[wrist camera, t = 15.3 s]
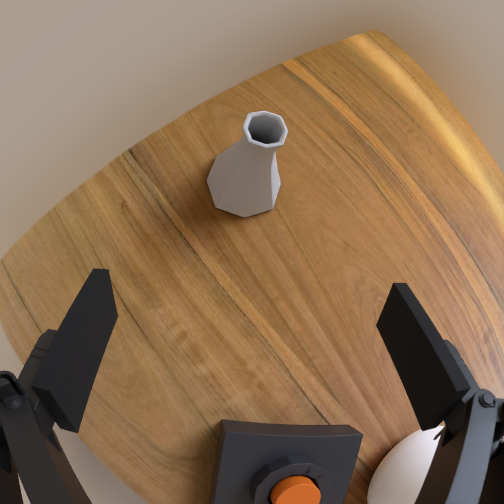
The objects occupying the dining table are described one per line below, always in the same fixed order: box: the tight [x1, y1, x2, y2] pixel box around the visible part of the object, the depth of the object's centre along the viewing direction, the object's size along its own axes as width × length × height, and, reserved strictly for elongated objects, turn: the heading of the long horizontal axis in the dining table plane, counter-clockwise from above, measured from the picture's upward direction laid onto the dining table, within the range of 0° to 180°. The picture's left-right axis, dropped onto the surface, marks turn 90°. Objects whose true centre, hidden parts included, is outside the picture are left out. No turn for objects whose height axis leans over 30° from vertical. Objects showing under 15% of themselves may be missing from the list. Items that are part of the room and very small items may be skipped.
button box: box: [209, 420, 363, 504], centre depth 23 cm, size 13×11×5 cm
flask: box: [207, 111, 288, 217], centre depth 26 cm, size 7×7×10 cm
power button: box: [270, 476, 321, 504], centre depth 20 cm, size 4×4×2 cm
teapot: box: [367, 426, 445, 504], centre depth 23 cm, size 22×14×11 cm, turn 132°
